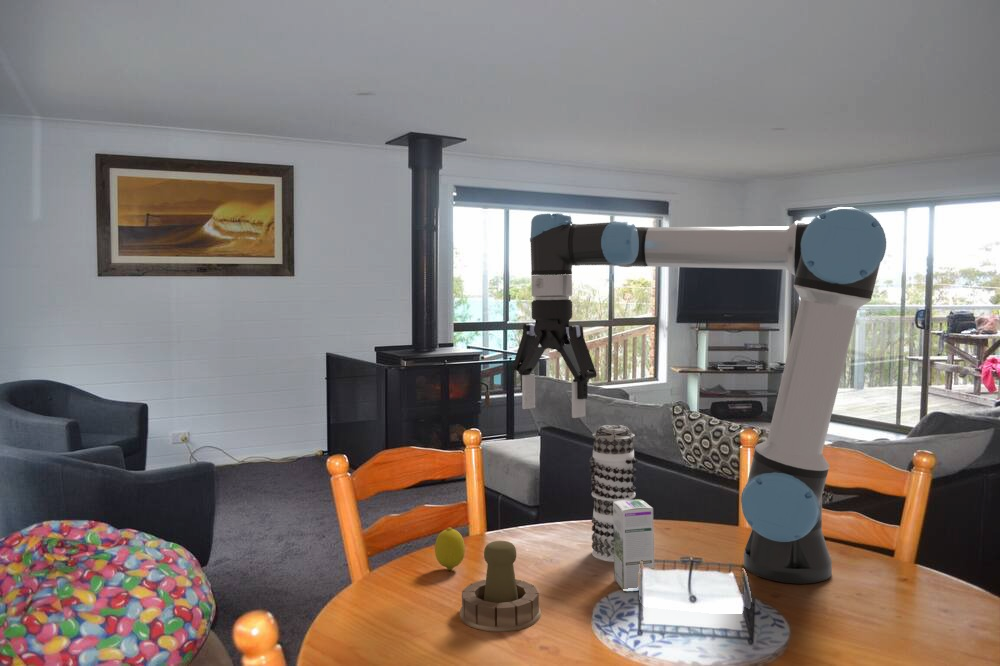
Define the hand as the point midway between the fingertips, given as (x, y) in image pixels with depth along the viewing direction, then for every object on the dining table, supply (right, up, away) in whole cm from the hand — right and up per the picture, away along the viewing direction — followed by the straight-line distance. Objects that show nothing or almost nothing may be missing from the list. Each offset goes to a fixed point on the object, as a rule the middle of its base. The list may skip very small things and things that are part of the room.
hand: (552, 412), depth 145 cm
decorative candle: (+12, -28, +6) cm, 32 cm away
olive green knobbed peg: (-10, -30, -20) cm, 37 cm away
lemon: (-19, -29, -1) cm, 35 cm away
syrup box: (+13, -29, -9) cm, 34 cm away
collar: (-10, -30, -20) cm, 38 cm away
